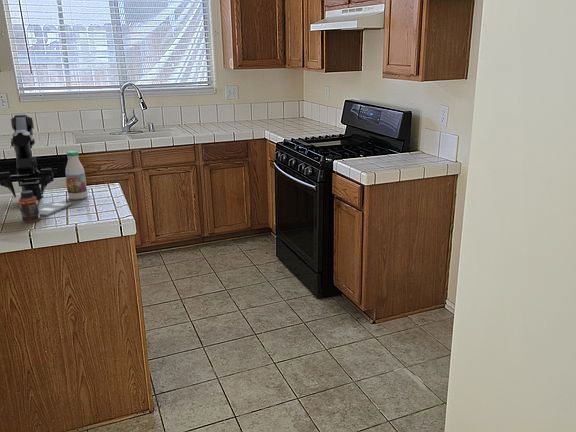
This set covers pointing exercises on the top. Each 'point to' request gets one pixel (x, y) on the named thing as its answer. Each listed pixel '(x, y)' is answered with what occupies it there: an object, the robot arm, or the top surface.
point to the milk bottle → (75, 177)
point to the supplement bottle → (29, 207)
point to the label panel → (52, 208)
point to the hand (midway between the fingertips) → (28, 195)
